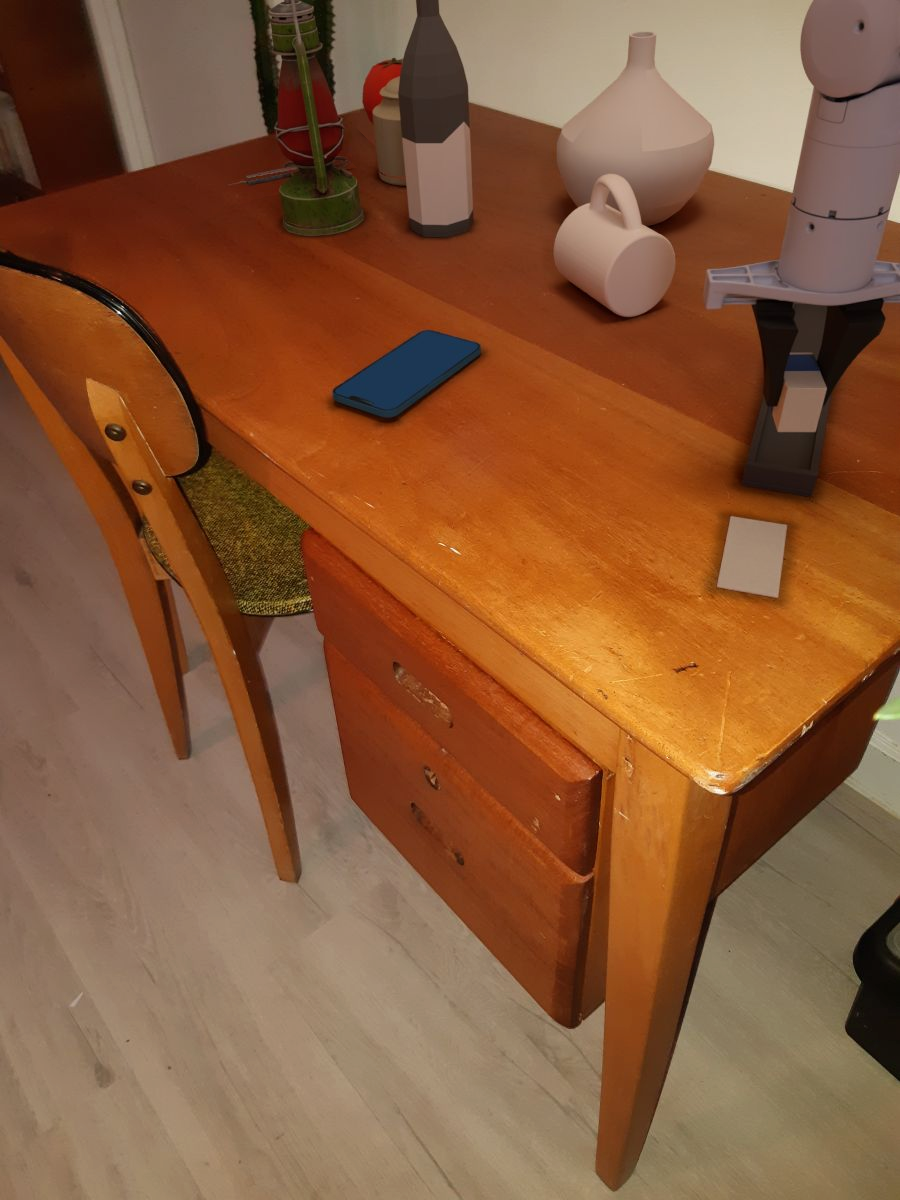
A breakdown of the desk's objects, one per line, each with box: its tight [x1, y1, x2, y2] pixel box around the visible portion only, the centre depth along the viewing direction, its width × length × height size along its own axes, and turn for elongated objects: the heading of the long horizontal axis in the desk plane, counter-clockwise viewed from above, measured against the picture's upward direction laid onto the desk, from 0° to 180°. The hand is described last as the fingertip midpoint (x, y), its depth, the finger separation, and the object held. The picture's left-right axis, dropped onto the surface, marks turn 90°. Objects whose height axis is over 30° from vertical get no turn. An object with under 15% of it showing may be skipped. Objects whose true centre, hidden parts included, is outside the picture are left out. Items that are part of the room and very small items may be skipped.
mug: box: [552, 174, 676, 318], centre depth 89 cm, size 8×10×12 cm
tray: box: [740, 304, 832, 498], centre depth 78 cm, size 35×5×2 cm, turn 158°
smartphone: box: [331, 329, 482, 419], centre depth 83 cm, size 7×1×15 cm
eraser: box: [769, 353, 827, 432], centre depth 63 cm, size 5×3×4 cm, turn 174°
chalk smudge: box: [716, 515, 788, 599], centre depth 62 cm, size 8×4×1 cm, turn 161°
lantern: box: [268, 0, 365, 237], centre depth 104 cm, size 14×11×30 cm
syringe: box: [229, 158, 349, 187], centre depth 126 cm, size 8×18×2 cm, turn 115°
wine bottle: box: [398, 0, 474, 239], centre depth 100 cm, size 8×8×30 cm
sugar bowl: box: [372, 56, 407, 187], centre depth 121 cm, size 15×11×15 cm
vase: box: [556, 31, 715, 227], centre depth 103 cm, size 18×18×19 cm
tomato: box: [361, 57, 403, 125], centre depth 138 cm, size 11×13×10 cm
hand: (793, 399), depth 63 cm, fingers closed on eraser, 3 cm apart
